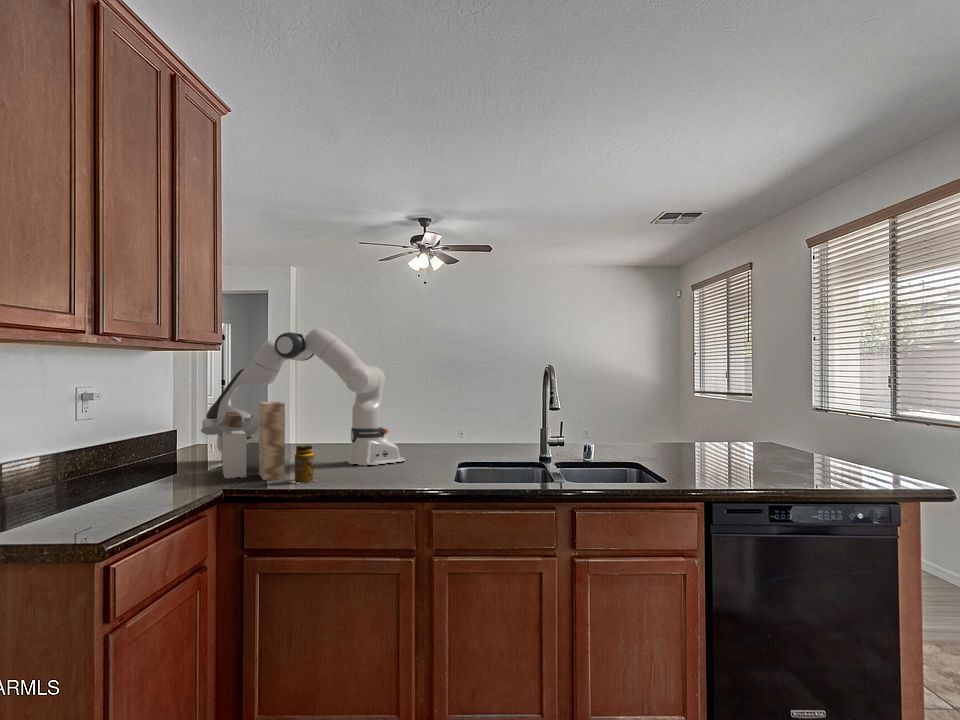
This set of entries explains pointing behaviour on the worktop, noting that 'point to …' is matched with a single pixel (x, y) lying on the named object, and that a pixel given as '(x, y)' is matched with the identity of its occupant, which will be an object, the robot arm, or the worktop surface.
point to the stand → (272, 440)
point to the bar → (233, 419)
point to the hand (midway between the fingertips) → (232, 416)
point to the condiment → (304, 464)
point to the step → (234, 454)
